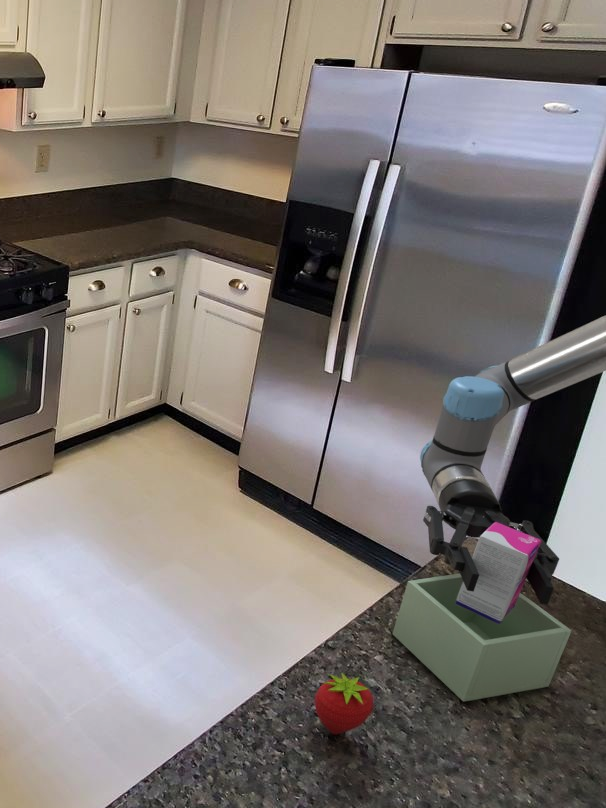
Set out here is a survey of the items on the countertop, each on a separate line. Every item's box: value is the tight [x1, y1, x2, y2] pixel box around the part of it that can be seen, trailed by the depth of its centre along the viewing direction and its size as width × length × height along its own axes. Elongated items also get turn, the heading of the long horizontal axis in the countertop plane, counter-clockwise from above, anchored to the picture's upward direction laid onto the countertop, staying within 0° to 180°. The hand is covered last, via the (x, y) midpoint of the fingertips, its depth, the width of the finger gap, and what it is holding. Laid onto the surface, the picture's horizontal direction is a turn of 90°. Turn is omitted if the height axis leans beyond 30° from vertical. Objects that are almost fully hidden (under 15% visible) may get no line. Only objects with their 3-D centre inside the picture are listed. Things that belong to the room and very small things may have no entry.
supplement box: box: [455, 522, 541, 624], centre depth 107 cm, size 6×6×12 cm
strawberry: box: [314, 672, 374, 735], centre depth 100 cm, size 6×8×10 cm
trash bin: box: [392, 573, 572, 703], centre depth 112 cm, size 14×14×10 cm
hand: (509, 589), depth 103 cm, fingers closed on supplement box, 8 cm apart
